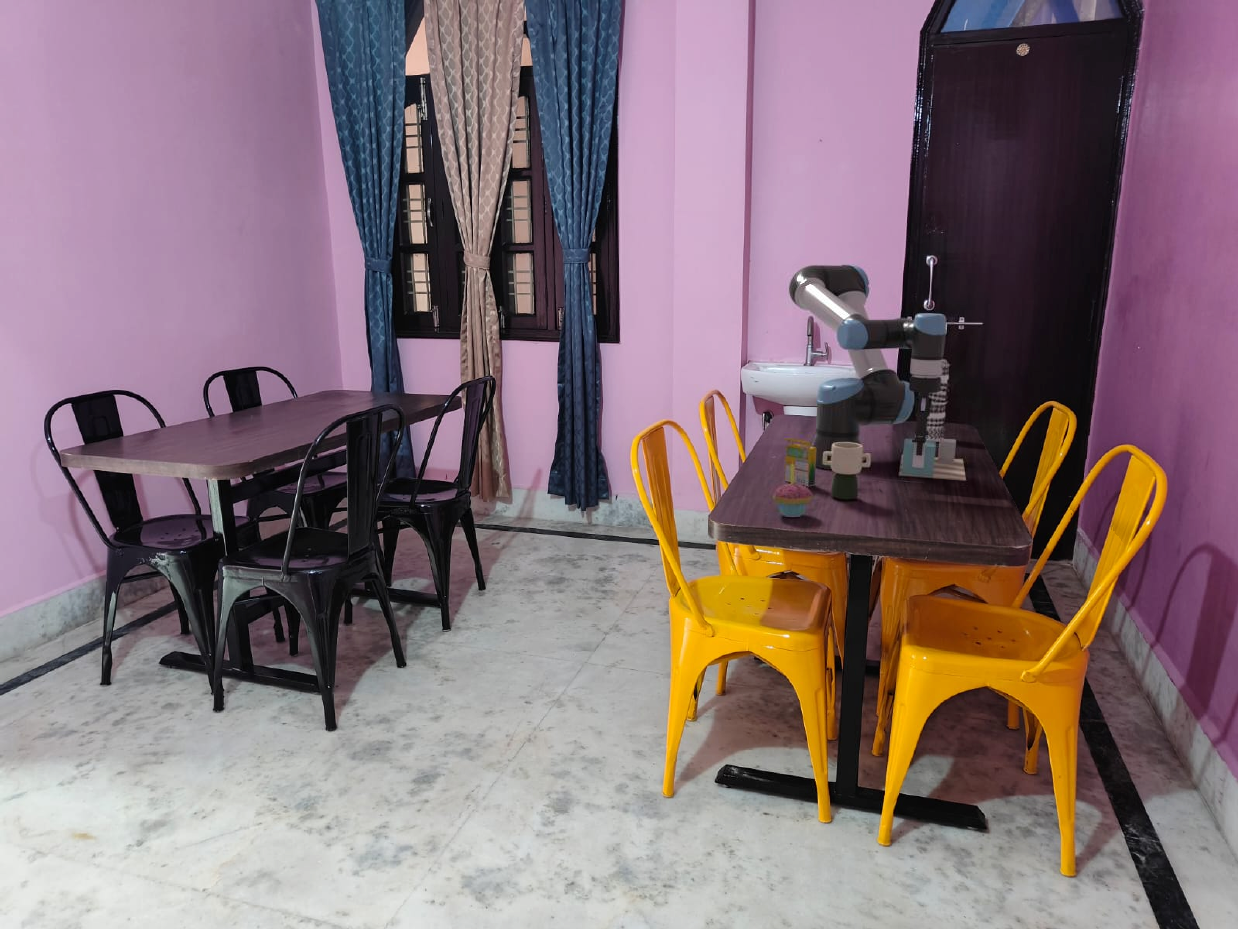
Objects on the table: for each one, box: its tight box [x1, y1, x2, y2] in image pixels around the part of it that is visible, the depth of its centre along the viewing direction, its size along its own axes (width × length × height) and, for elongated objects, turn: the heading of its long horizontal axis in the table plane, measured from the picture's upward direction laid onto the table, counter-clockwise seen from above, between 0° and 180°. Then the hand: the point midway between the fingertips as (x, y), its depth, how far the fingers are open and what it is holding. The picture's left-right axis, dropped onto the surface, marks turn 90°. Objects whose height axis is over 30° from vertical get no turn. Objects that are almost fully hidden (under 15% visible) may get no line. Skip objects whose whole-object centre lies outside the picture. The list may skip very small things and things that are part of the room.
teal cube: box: [902, 438, 937, 477], centre depth 218 cm, size 8×8×8 cm
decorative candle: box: [914, 358, 951, 443], centre depth 263 cm, size 9×9×25 cm
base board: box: [898, 454, 967, 481], centre depth 224 cm, size 24×16×2 cm, turn 160°
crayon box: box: [784, 437, 817, 487], centre depth 212 cm, size 7×3×12 cm, turn 41°
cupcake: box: [772, 461, 813, 516], centre depth 186 cm, size 9×8×12 cm
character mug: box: [823, 442, 872, 500], centre depth 199 cm, size 11×7×13 cm, turn 77°
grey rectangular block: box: [937, 438, 957, 464], centre depth 229 cm, size 4×4×6 cm
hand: (918, 463), depth 218 cm, fingers closed on teal cube, 8 cm apart
